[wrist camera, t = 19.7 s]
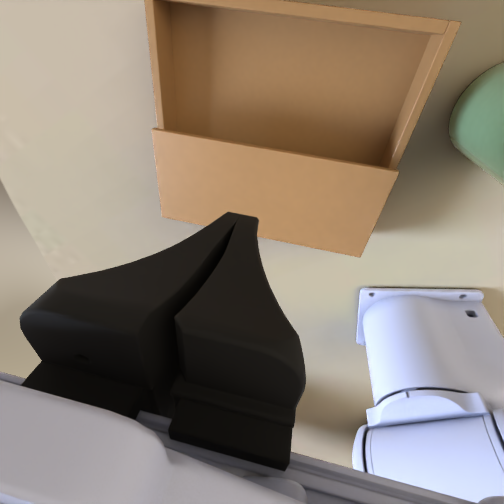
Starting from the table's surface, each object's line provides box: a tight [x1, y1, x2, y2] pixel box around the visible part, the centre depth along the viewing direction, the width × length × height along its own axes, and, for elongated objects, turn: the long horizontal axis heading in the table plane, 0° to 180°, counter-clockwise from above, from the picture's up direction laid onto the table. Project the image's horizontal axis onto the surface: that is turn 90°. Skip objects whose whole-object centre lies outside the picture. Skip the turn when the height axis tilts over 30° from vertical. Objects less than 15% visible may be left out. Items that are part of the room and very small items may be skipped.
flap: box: [152, 128, 399, 257], centre depth 18 cm, size 6×15×1 cm, turn 84°
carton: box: [144, 0, 461, 169], centre depth 18 cm, size 13×15×2 cm
